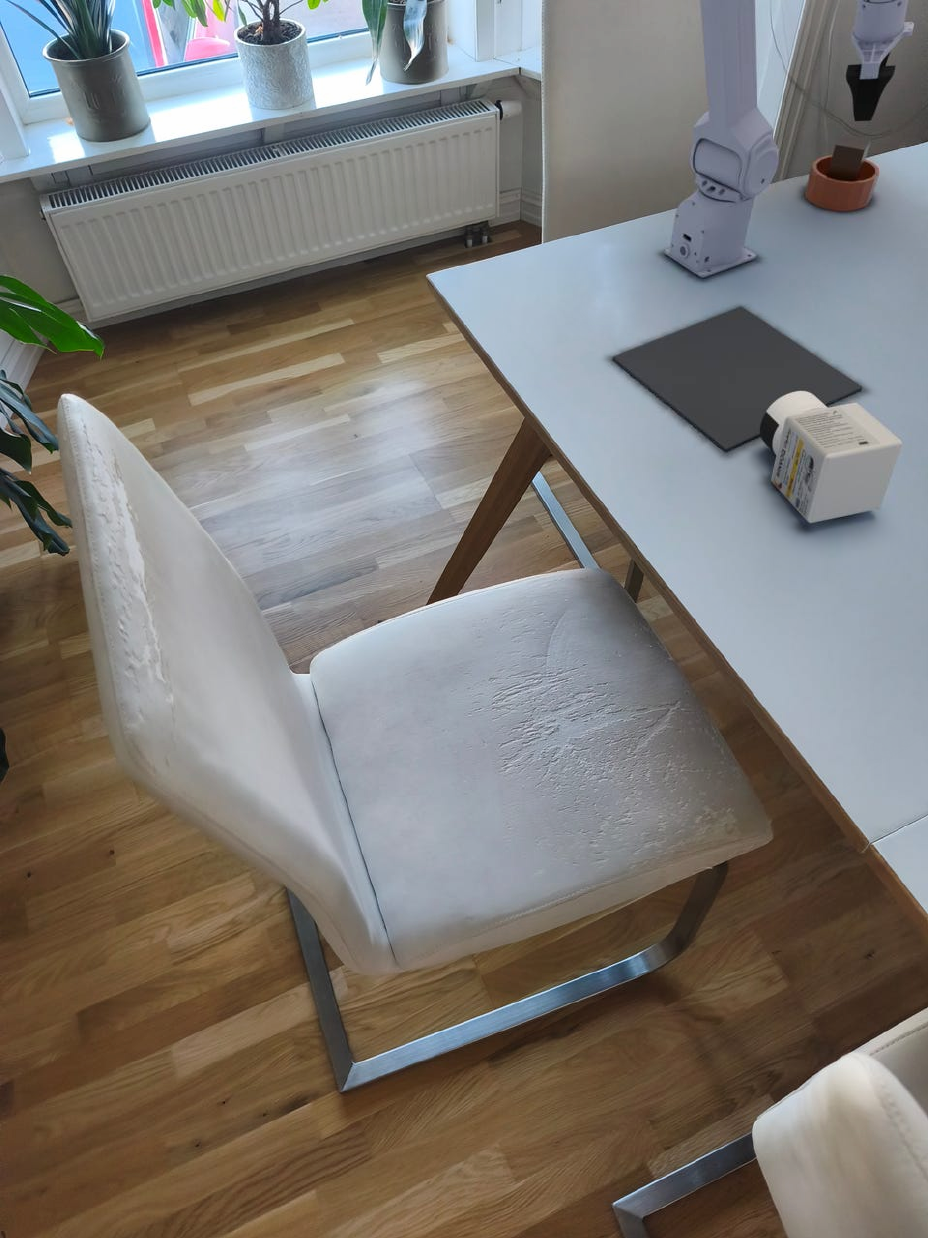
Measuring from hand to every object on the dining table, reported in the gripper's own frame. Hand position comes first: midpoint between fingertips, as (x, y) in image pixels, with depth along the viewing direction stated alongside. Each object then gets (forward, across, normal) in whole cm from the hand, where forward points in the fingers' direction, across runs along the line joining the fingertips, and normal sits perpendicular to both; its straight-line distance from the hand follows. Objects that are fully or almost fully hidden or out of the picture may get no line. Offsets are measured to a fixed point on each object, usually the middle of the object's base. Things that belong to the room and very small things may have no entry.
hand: (866, 101), depth 114 cm
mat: (+1, -49, +8) cm, 50 cm away
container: (-6, -69, -7) cm, 69 cm away
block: (+12, -2, +2) cm, 12 cm away
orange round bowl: (+13, -2, +2) cm, 13 cm away
